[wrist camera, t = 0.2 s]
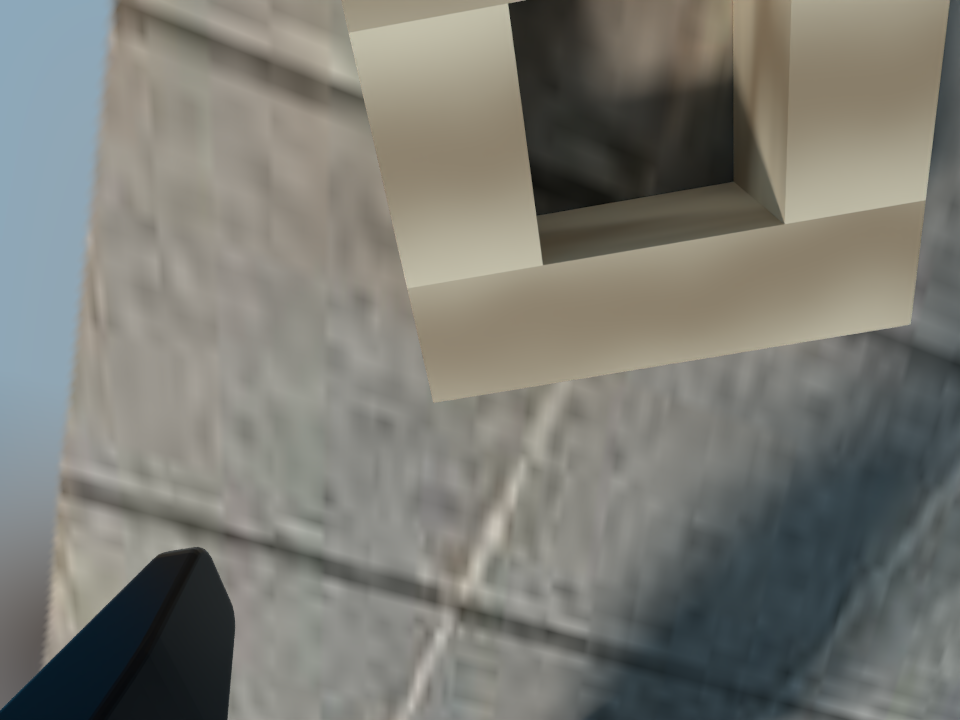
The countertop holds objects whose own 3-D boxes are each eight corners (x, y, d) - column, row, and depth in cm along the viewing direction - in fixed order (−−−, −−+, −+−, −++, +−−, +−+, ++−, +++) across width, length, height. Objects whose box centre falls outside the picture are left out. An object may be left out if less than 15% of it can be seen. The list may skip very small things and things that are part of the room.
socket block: (845, 270, 22) (910, 324, 19) (434, 339, 23) (433, 403, 20) (883, -248, 16) (985, -291, 13) (329, -141, 17) (305, -159, 14)
